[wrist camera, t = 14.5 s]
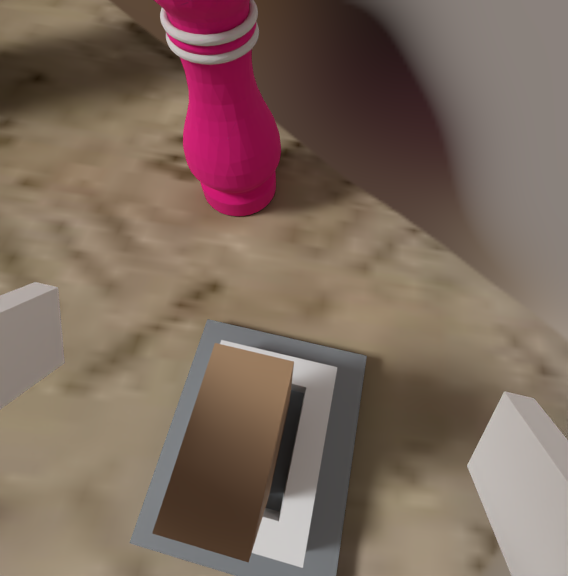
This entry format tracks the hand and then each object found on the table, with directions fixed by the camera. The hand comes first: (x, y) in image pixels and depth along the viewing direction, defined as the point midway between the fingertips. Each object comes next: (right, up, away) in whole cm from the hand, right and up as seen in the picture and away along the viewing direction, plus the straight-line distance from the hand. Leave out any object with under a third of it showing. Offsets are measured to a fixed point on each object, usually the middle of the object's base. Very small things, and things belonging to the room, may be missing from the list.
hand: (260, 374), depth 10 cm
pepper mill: (-3, +11, +20) cm, 23 cm away
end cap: (-1, -7, +11) cm, 13 cm away
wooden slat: (-1, -7, +10) cm, 12 cm away
